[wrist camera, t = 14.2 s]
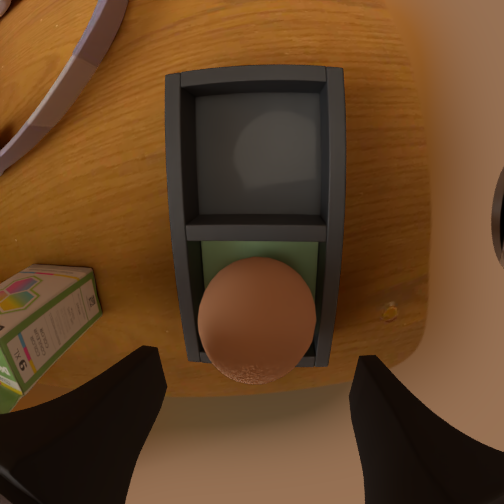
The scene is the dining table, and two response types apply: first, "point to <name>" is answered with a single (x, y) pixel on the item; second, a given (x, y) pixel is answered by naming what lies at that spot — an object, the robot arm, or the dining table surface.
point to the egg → (256, 320)
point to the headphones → (67, 78)
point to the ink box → (41, 323)
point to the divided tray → (257, 182)
